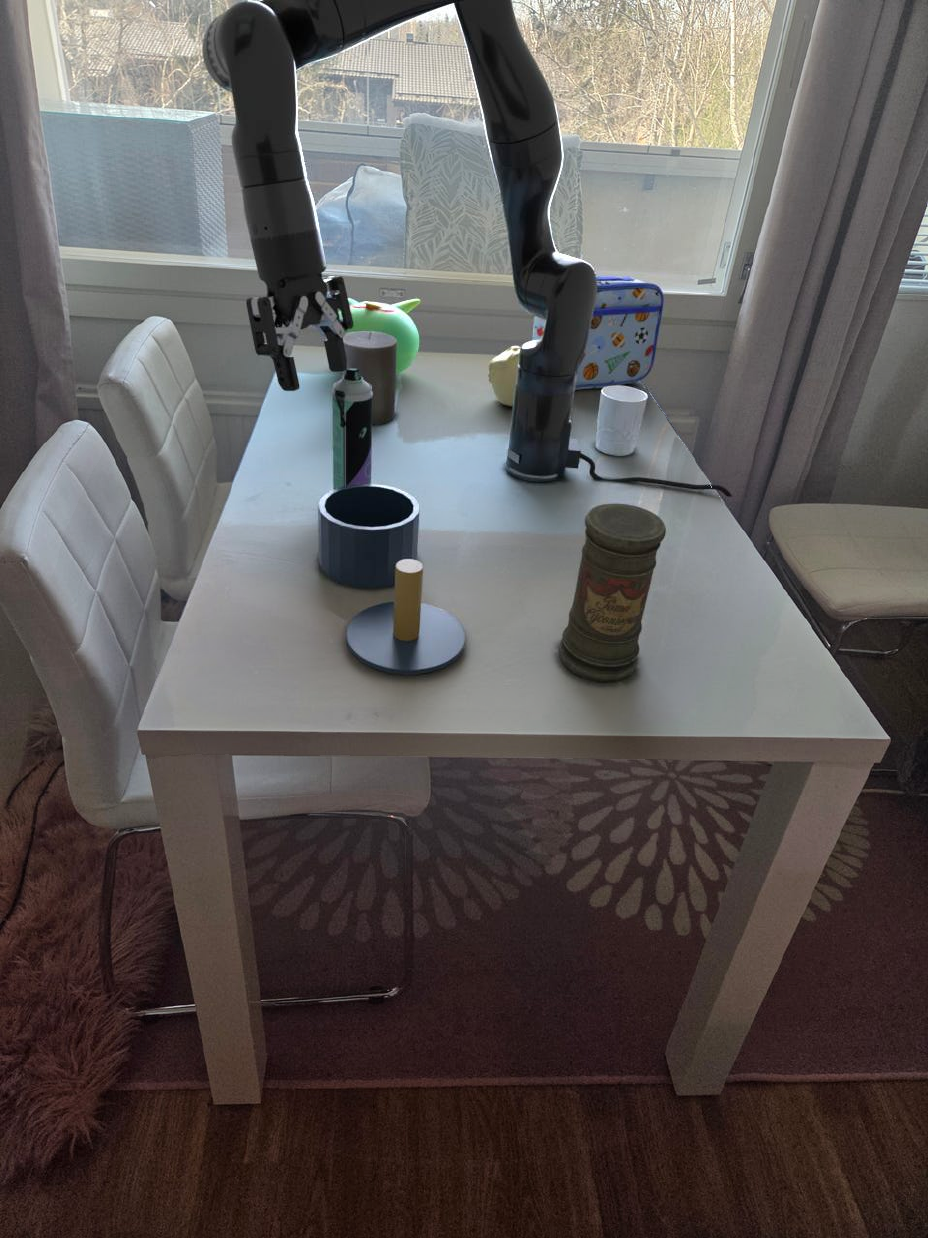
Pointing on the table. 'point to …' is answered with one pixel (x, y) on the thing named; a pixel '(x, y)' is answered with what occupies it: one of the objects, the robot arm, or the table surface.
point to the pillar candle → (375, 368)
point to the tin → (366, 534)
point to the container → (611, 592)
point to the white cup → (619, 419)
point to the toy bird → (388, 326)
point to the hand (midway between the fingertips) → (315, 380)
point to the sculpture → (504, 375)
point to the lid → (406, 629)
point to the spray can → (352, 430)
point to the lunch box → (618, 333)
